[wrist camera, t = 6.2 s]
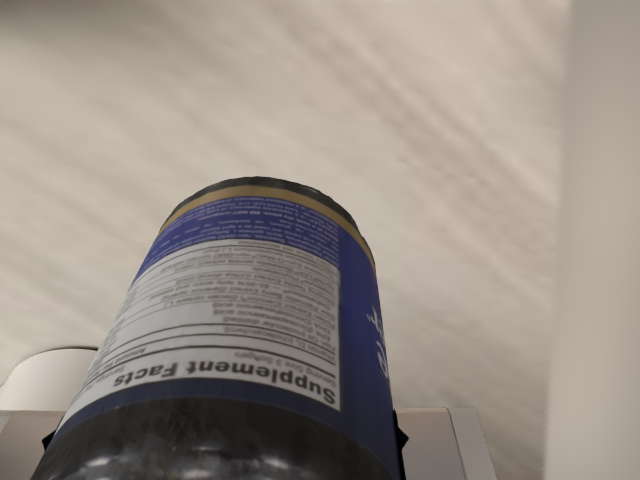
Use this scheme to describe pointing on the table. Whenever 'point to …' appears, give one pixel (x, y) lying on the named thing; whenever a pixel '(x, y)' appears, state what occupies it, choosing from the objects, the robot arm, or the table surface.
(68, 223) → the table surface
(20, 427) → the robot arm
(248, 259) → the pill bottle
